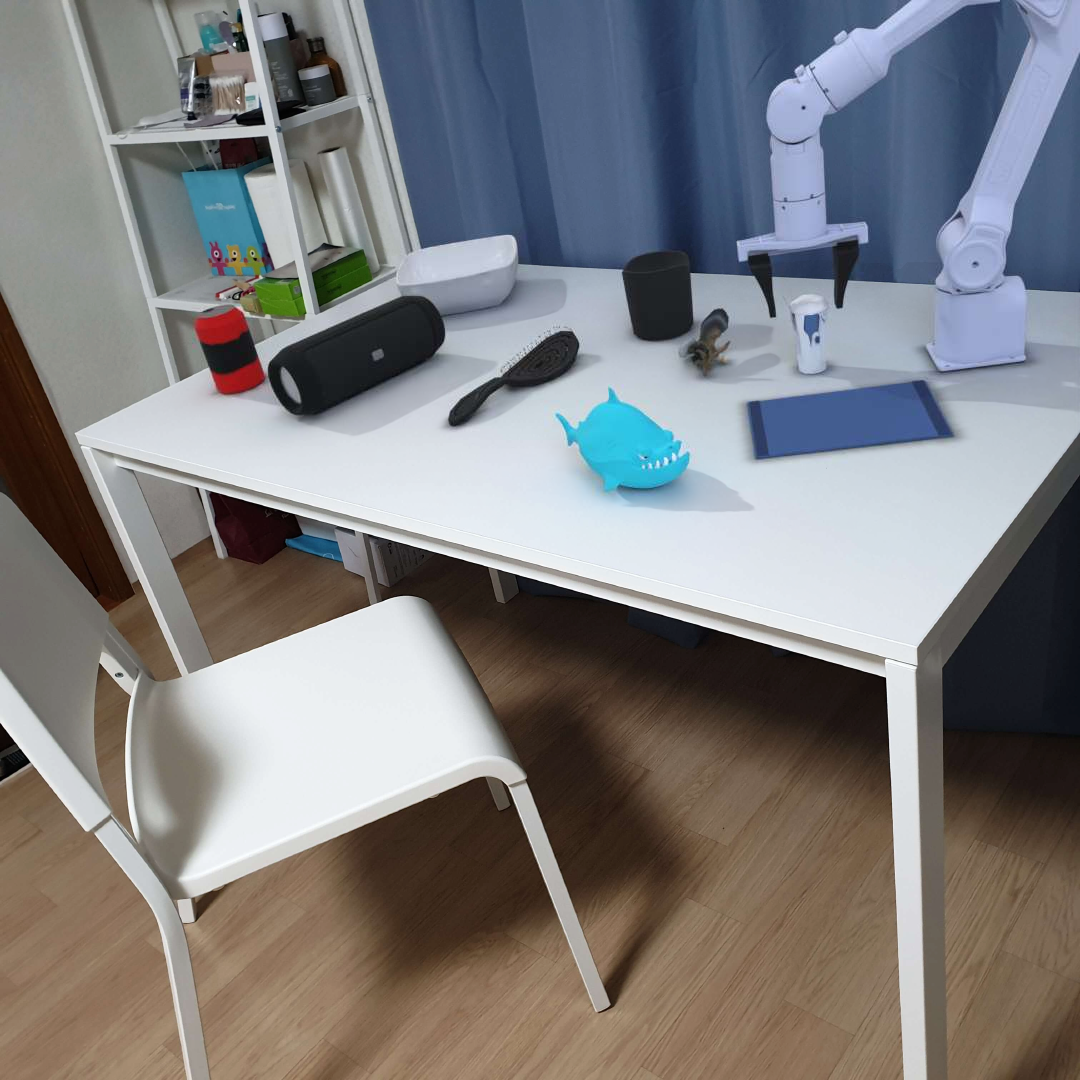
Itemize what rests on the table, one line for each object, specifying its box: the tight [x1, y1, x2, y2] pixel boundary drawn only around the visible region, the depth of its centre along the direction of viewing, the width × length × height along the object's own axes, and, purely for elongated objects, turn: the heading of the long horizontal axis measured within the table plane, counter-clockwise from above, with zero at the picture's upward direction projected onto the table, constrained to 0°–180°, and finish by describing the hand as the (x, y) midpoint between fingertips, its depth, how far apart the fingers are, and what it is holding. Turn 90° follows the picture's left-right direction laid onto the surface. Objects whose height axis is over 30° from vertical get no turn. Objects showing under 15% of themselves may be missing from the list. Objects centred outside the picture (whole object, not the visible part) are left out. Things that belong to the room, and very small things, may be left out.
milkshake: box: [781, 293, 830, 375], centre depth 126 cm, size 4×5×10 cm
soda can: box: [193, 304, 266, 395], centre depth 160 cm, size 8×8×12 cm
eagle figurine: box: [677, 308, 731, 377], centre depth 134 cm, size 8×7×9 cm
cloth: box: [746, 379, 954, 460], centre depth 115 cm, size 20×14×1 cm
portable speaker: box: [267, 295, 446, 416], centre depth 150 cm, size 26×10×10 cm, turn 134°
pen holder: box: [621, 250, 694, 342], centre depth 147 cm, size 9×9×10 cm
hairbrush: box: [447, 325, 581, 427], centre depth 140 cm, size 8×4×25 cm
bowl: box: [395, 234, 519, 317], centre depth 177 cm, size 20×20×8 cm
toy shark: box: [555, 386, 691, 492], centre depth 110 cm, size 10×18×11 cm, turn 45°
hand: (805, 310), depth 124 cm, fingers open, 7 cm apart
